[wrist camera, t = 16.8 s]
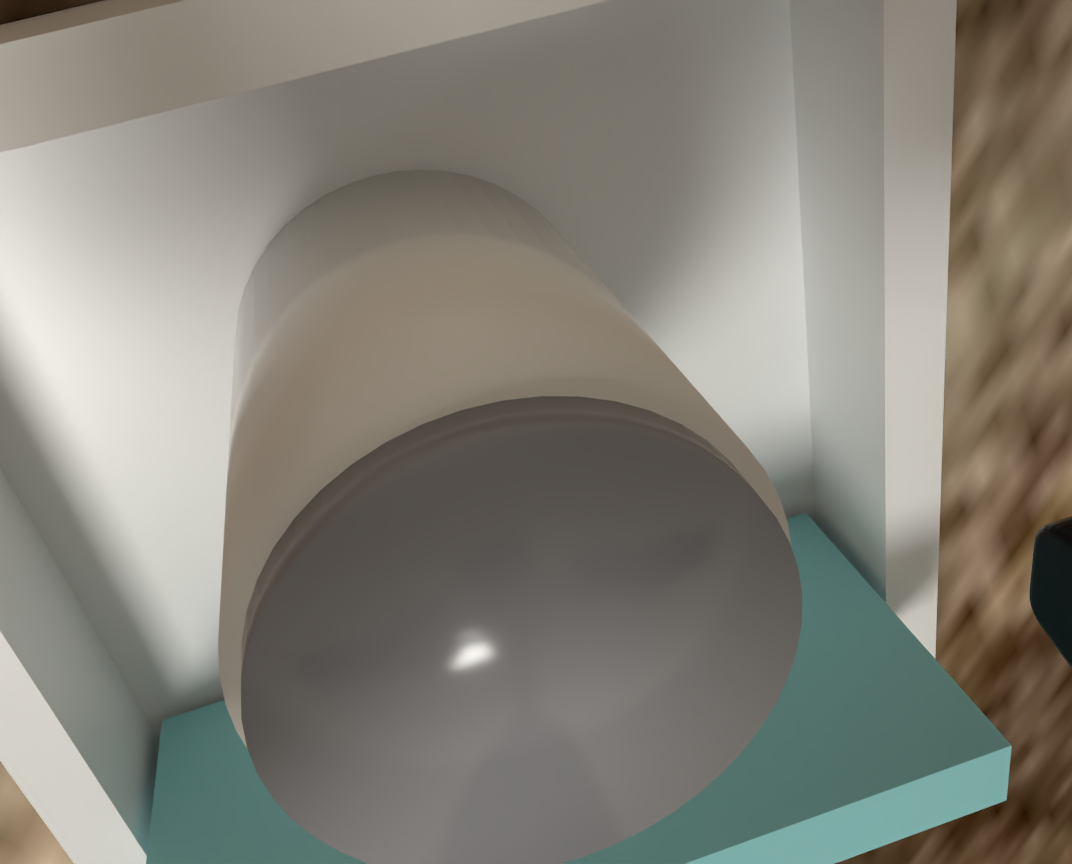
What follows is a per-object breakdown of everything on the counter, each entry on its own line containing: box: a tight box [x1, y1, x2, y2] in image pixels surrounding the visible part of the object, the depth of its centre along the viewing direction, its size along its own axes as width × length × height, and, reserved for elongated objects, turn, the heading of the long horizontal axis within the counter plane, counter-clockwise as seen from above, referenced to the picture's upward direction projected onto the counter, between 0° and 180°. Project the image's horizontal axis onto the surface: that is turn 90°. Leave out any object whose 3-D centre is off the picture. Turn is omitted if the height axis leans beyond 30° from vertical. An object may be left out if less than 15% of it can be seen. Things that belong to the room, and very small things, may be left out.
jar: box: [218, 170, 802, 864], centre depth 12 cm, size 6×6×8 cm
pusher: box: [146, 513, 1012, 864], centre depth 16 cm, size 1×12×6 cm, turn 101°
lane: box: [0, 0, 957, 864], centre depth 16 cm, size 17×15×3 cm
